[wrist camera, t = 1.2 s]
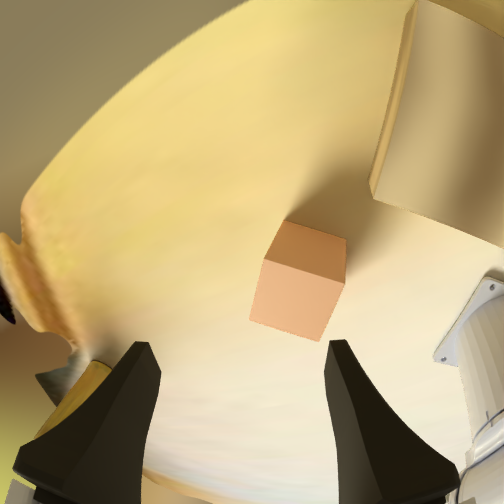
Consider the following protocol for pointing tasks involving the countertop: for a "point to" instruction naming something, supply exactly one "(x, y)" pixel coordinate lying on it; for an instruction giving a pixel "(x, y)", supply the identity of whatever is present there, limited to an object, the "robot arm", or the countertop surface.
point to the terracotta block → (300, 281)
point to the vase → (77, 394)
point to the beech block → (445, 124)
